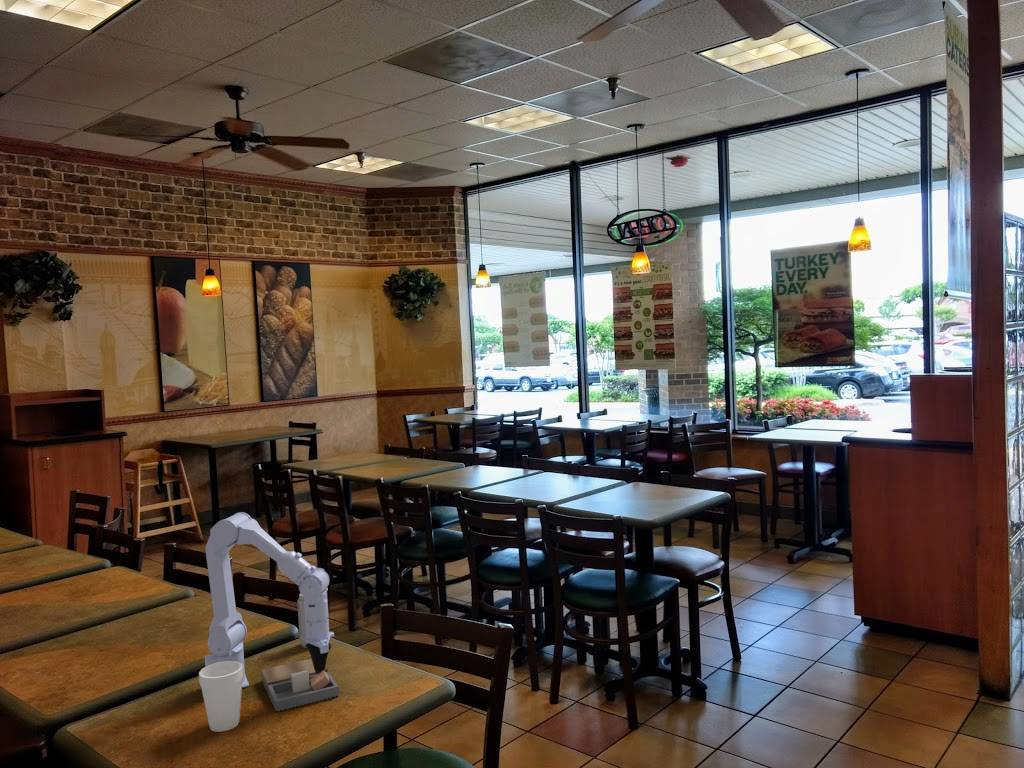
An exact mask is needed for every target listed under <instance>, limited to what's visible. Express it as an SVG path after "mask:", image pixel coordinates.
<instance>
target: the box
mask: <svg viewBox="0 0 1024 768" xmlns="http://www.w3.org/2000/svg"><path fill="white" fill-rule="evenodd" d="M326 673H327V675H328V677H329V680H330V683H328V684H327V685H326V686H324V687H323V688H322V689H320V690H314V689H313V688H312V686H311V682H310V679H312V678H313V677H314V676H316V675H317V674H316V675H311V676H309V684H310V689H307V690H303V691H299V692H295V693H293V691H292V683H291V680H290V681H286V682H281V683H277V684H273V685H268V693H269V695H268V697H269V699H270V701H271V704H272V706H273V708H274V710H276V711H278V712H281V711H280V710H282V711H285V710H284V709H286V710H290V709H293V708H292V707H294V708H297V707H296V706H298V707H301V706H300V705H302V706H305V705H304V704H306V705H309V704H308V703H310V704H313V703H312V702H314V703H317V702H316V701H318V702H321V701H320V700H322V701H325V700H324V699H326V700H329V699H328V698H330V699H333V698H332V697H334V698H337V697H336V696H338V697H339V696H340V688H339V687H340V686H339V685H338V683H337V682H336V681H335V679H334V678H333V676H332V674H331V673H330V672H329V671H328V672H326ZM268 693H267V694H268ZM289 708H290V709H289ZM276 711H275V712H276Z"/></svg>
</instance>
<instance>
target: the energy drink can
mask: <svg viewBox="0 0 1024 768" xmlns="http://www.w3.org/2000/svg"><path fill="white" fill-rule="evenodd" d="M298 595H299V597H298V599H297V614H298V617H297V618H298V631H299V632H298V633H299V644H300V645H301V646H302V648H304V649H307V647H306V644H308V643H307V642H306V640H305V637H306V626H305V609H304V597H303V595H302V594H301V593H299V594H298Z"/></svg>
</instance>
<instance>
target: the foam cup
mask: <svg viewBox="0 0 1024 768" xmlns="http://www.w3.org/2000/svg"><path fill="white" fill-rule="evenodd" d="M243 676H244V674H243V665H242V663H240V662H237V661H224V662H217V663H214V664H211V665H208V666H206V667H205V666H204V667H203V668H201V669H200V671H199V672H198V681H199V685H200V687H201V693H202V698H203V703H204V706H205V712H206V715H207V716H206V717H207V720H208V726H209V729H210V731H213V732H217V733H218V732H220V733H221V732H226V731H229V730H231V729H234V728H236V727H237V726H238V725H239V724H238V723H240V718H241V717H240V716H241V707H242V706H241V705H242V692H243V688H242V679H243Z"/></svg>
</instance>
